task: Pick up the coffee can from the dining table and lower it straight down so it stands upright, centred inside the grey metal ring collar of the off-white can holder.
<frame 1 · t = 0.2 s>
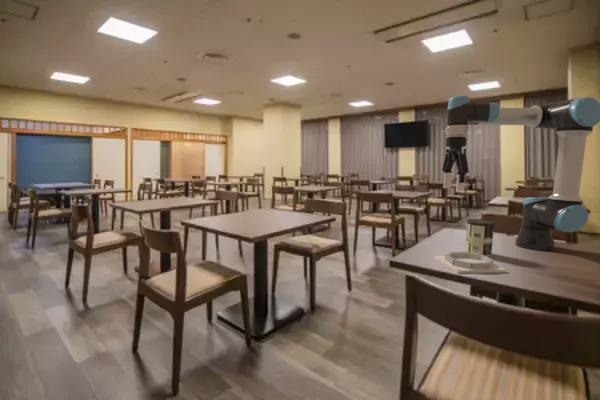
hand: (453, 189, 140), 28 cm above the table, tool pointing down, fingers open, 13 cm apart
can holder: (467, 264, 131), on the table
coffee can: (477, 254, 147), on the table
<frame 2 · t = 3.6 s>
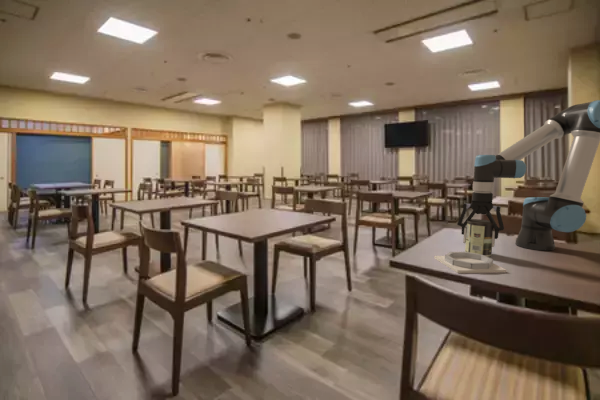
hand: (478, 244, 146), 4 cm above the table, tool pointing down, fingers closed on coffee can, 10 cm apart
coffee can: (477, 254, 147), on the table, touching gripper
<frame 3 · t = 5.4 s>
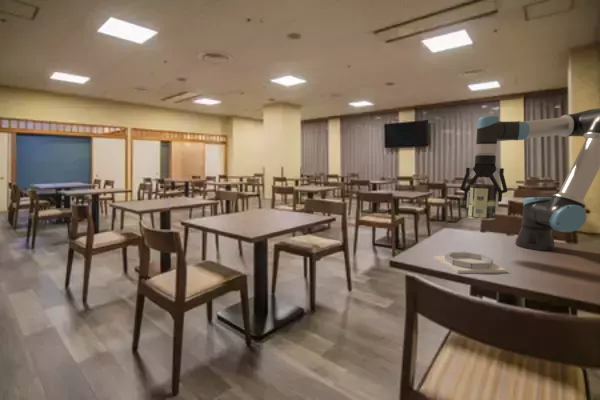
hand: (482, 208, 144), 20 cm above the table, tool pointing down, fingers closed on coffee can, 10 cm apart
coffee can: (481, 218, 145), point 15 cm above the table, touching gripper
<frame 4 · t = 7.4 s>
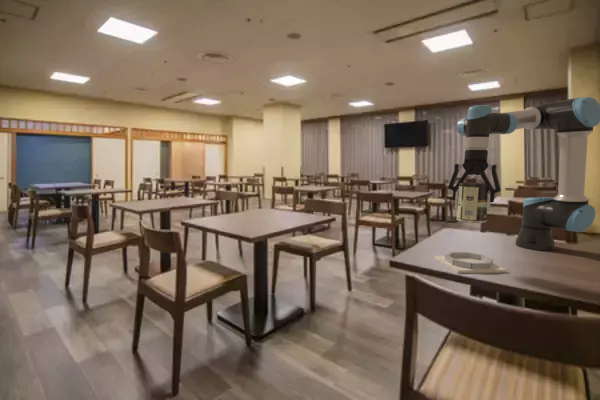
hand: (472, 209, 128), 21 cm above the table, tool pointing down, fingers closed on coffee can, 10 cm apart
coffee can: (471, 221, 129), point 17 cm above the table, touching gripper
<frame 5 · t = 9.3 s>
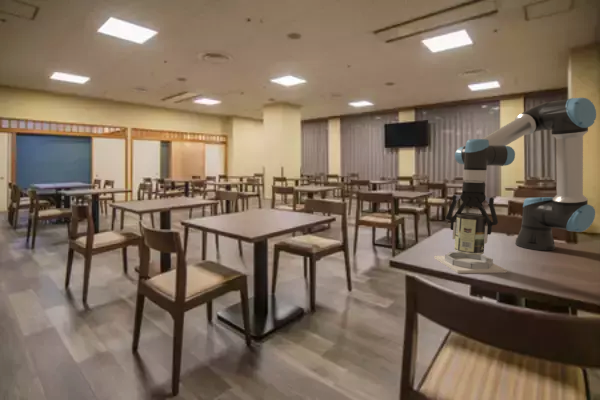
hand: (469, 240, 130), 9 cm above the table, tool pointing down, fingers closed on coffee can, 10 cm apart
coffee can: (468, 251, 130), point 5 cm above the table, touching gripper
when the fingers open (5 cm above the table, at t = 11.2 s): coffee can stays where it is, resting on can holder.
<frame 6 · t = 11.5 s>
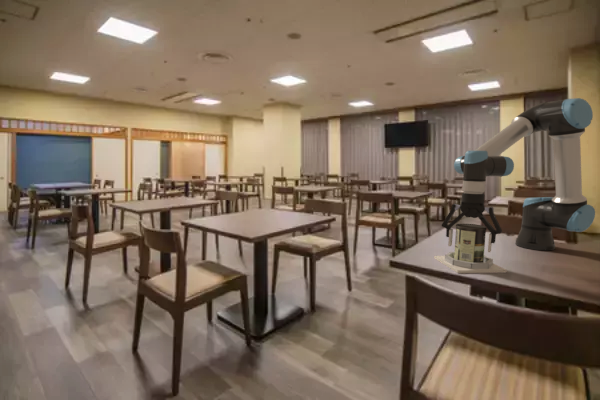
hand: (469, 248, 130), 6 cm above the table, tool pointing down, fingers open, 13 cm apart
coffee can: (468, 262, 131), point 1 cm above the table, touching can holder
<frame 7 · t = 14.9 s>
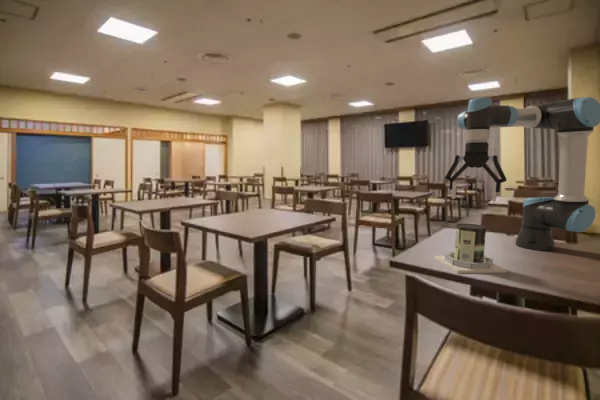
hand: (473, 200, 128), 25 cm above the table, tool pointing down, fingers open, 13 cm apart
nothing on the table moved.
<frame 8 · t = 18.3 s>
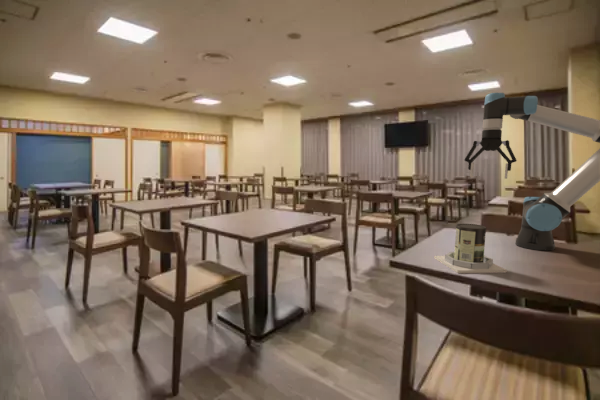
hand: (488, 177, 154), 32 cm above the table, tool pointing down, fingers open, 13 cm apart
nothing on the table moved.
at the end: coffee can 0.1 cm off-centre on the can holder, point 0.8 cm above the can holder's base; coffee can tilted 0°; the gripper is holding nothing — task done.
